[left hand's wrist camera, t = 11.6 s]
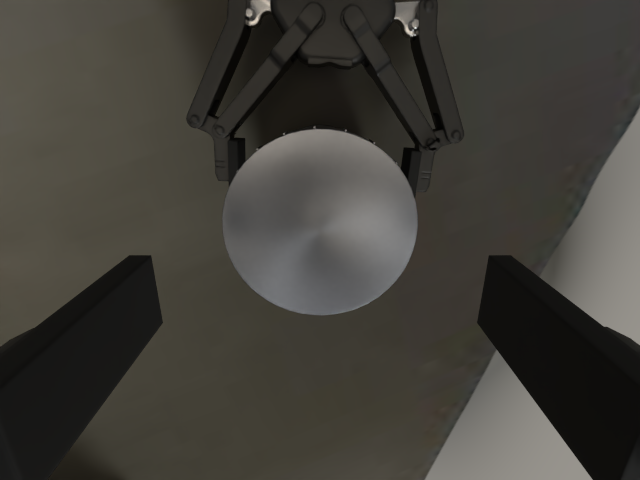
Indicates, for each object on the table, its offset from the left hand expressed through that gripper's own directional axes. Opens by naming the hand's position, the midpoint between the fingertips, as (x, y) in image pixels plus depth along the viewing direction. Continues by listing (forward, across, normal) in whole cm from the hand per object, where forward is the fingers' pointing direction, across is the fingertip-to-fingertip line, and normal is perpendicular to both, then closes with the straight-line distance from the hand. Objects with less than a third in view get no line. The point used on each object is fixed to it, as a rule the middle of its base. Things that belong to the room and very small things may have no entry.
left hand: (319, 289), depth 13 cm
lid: (+7, 0, 0) cm, 7 cm away
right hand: (+17, 0, -3) cm, 17 cm away
